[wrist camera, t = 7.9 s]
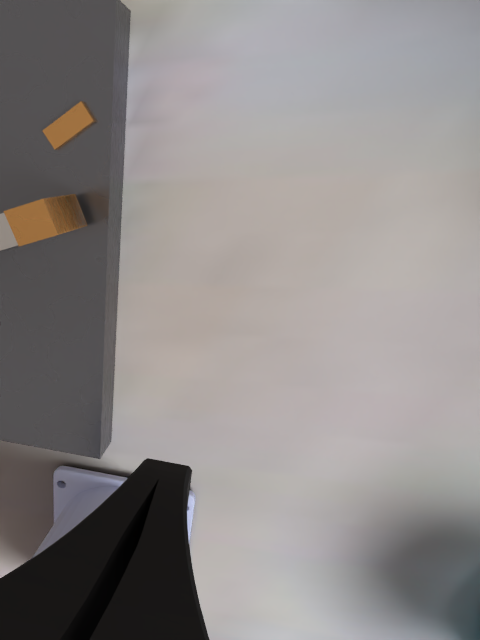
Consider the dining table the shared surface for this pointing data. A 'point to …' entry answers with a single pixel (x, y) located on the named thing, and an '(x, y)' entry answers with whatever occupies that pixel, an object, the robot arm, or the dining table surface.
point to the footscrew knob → (40, 220)
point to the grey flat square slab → (71, 247)
